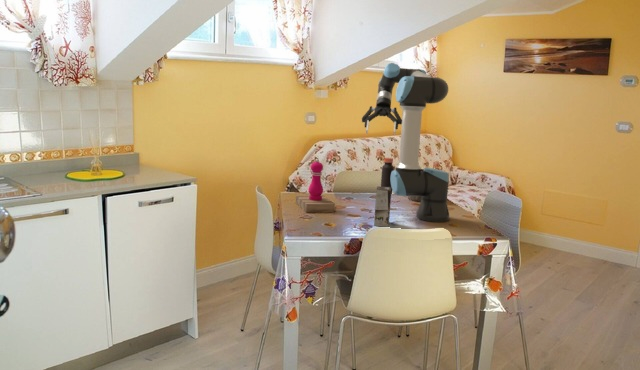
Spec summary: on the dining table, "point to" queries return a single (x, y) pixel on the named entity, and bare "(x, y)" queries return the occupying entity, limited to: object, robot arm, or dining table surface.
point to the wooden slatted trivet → (315, 204)
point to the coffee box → (382, 206)
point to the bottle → (387, 173)
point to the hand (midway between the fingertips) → (380, 132)
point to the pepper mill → (316, 181)
